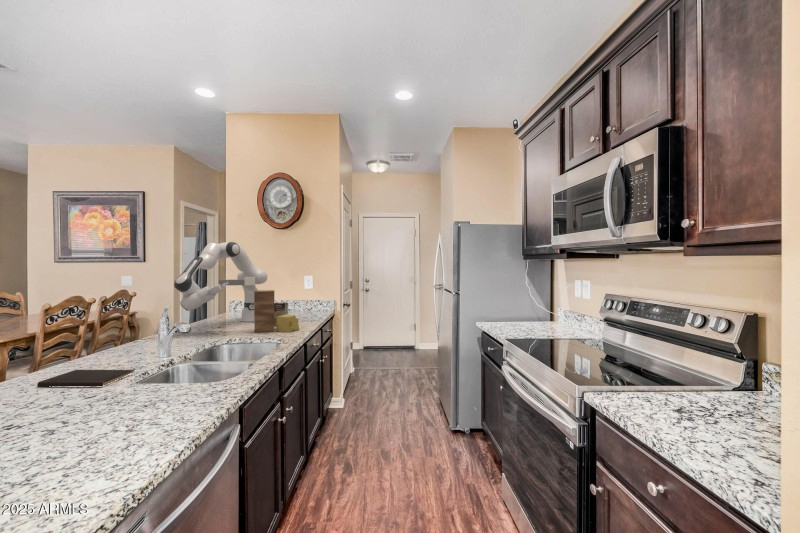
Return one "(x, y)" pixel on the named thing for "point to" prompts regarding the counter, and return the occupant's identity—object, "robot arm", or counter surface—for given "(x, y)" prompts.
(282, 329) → the cheese
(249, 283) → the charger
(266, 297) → the stand
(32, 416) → the counter surface
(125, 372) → the hardcover book
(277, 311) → the coffee box
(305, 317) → the counter surface
